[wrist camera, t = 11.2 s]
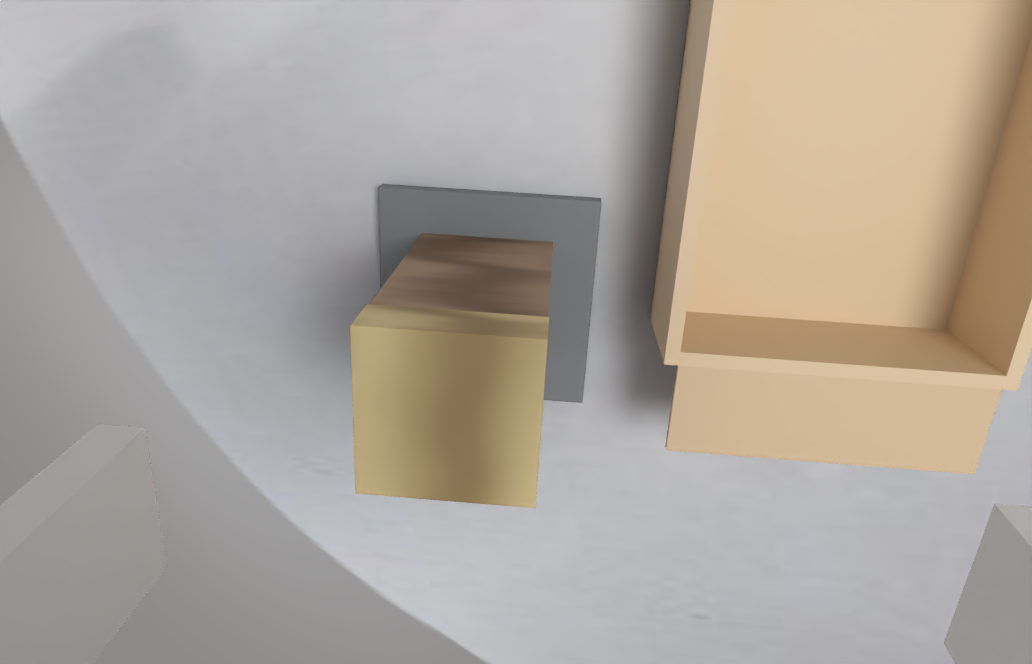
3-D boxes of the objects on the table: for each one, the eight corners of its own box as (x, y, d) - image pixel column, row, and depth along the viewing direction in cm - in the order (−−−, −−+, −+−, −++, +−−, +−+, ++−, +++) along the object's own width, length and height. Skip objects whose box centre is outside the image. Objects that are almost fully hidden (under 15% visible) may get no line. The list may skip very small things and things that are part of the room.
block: (420, 354, 36) (355, 493, 25) (421, 232, 34) (350, 325, 23) (545, 363, 36) (535, 507, 25) (554, 240, 34) (547, 339, 23)
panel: (382, 184, 34) (378, 187, 33) (600, 198, 34) (601, 201, 33) (385, 380, 38) (382, 387, 37) (582, 395, 37) (582, 402, 37)
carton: (743, -419, 26) (787, -534, 20) (1168, -406, 25) (1322, -521, 20) (640, 392, 37) (652, 449, 32) (930, 414, 37) (988, 475, 31)
